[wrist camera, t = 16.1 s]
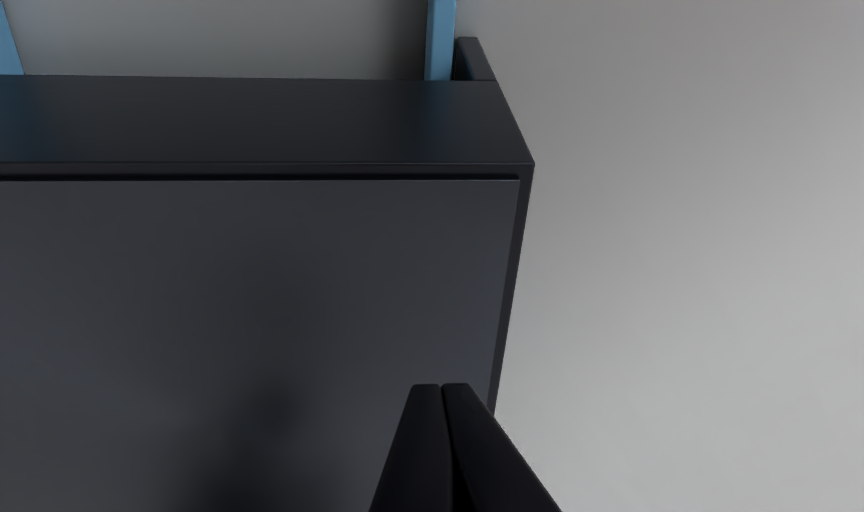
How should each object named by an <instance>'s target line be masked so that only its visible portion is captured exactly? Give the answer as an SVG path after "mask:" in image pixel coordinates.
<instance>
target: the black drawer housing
mask: <svg viewBox="0 0 864 512" xmlns="http://www.w3.org/2000/svg"><path fill="white" fill-rule="evenodd" d="M534 167H535V162H534V160H533V158H532V156H531V154H530V151H529V149H528V147H527V145H526V143H525V140H524V138H523V136H522V134H521V132H520V129H519V127H518V125H517V123H516V121H515V118H514V116H513V114H512V112H511V110H510V108H509V105H508V103H507V101H506V99H505V97H504V94H503V92H502V90H501V88H500V86H499V83H498V82H497V80H496V77H495V75H494V73H493V71H492V69H491V66H490V64H489V62H488V60H487V58H486V55H485V53H484V51H483V49H482V47H481V44H480V42H479V40H478V38H477V37H458V39H457V49H456V62H455V75H454V81H430V80H359V79H288V78H217V77H145V76H74V75H3V74H0V512H368V511H369V508H370V505H371V503H372V500H373V497H374V494H375V491H376V488H377V485H378V482H379V479H380V476H381V473H382V471H383V468H384V465H385V462H386V459H387V456H388V453H389V450H390V447H391V444H392V441H393V439H394V436H395V433H396V430H397V427H398V424H399V421H400V418H401V415H402V412H403V409H404V406H405V404H406V401H407V398H408V395H409V392H410V389H411V387H412V386H413V385H414V384H433V383H435V384H438V385H439V386H440V387H441V386H442V385H443V384H445V383H468V384H470V385H471V386H472V387H473V389H474V390H475V391H476V393H477V394H478V396H479V397H480V398H481V400H482V401H483V403H484V404H485V405H486V407H487V408H488V410H489V411H490V412H491V414H492V415H493V416H494V412H495V406H496V400H497V394H498V388H499V382H500V376H501V370H502V363H503V357H504V351H505V345H506V339H507V333H508V327H509V321H510V314H511V308H512V302H513V296H514V290H515V284H516V278H517V271H518V265H519V259H520V253H521V247H522V241H523V235H524V229H525V222H526V216H527V210H528V204H529V198H530V192H531V186H532V180H533V173H534Z"/></svg>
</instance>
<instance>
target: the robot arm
mask: <svg viewBox="0 0 864 512" xmlns="http://www.w3.org/2000/svg"><path fill="white" fill-rule="evenodd" d="M368 512H562V511H561V509H560V508H559V507H558V505H557V504H556V503H555V501H554V500H553V498H552V497H551V496H550V494H549V493H548V491H547V490H546V489H545V487H544V486H543V484H542V483H541V482H540V480H539V479H538V478H537V476H536V475H535V473H534V472H533V471H532V469H531V468H530V466H529V465H528V464H527V462H526V461H525V460H524V458H523V457H522V455H521V454H520V453H519V451H518V450H517V448H516V447H515V446H514V444H513V443H512V441H511V440H510V439H509V437H508V436H507V435H506V433H505V432H504V430H503V429H502V428H501V426H500V425H499V423H498V422H497V421H496V419H495V418H494V416H493V415H492V414H491V412H490V411H489V410H488V408H487V407H486V405H485V404H484V403H483V401H482V400H481V398H480V397H479V396H478V394H477V393H476V391H475V390H474V389H473V387H472V386H471V385H470V384H468V383H445V384H443V385H442V386H441V387H440V386H439V385H438V384H435V383H433V384H414V385H413V386H412V387H411V389H410V392H409V395H408V398H407V401H406V404H405V406H404V409H403V412H402V415H401V418H400V421H399V424H398V427H397V430H396V433H395V436H394V439H393V441H392V444H391V447H390V450H389V453H388V456H387V459H386V462H385V465H384V468H383V471H382V473H381V476H380V479H379V482H378V485H377V488H376V491H375V494H374V497H373V500H372V503H371V505H370V508H369V511H368Z"/></svg>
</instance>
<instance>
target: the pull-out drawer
mask: <svg viewBox="0 0 864 512" xmlns="http://www.w3.org/2000/svg"><path fill="white" fill-rule="evenodd" d="M456 2H457V0H428V9H427V30H426V51H425V72H424V80H430V81H451V70H452V57H453V43H454V29H455V15H456ZM0 74H3V75H25V74H24V71H23V68H22V65H21V61H20V58H19V55H18V52H17V49H16V46H15V43H14V40H13V36H12V33H11V30H10V27H9V24H8V21H7V18H6V14H5V11H4V8H3V5H2V2H1V0H0Z"/></svg>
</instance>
